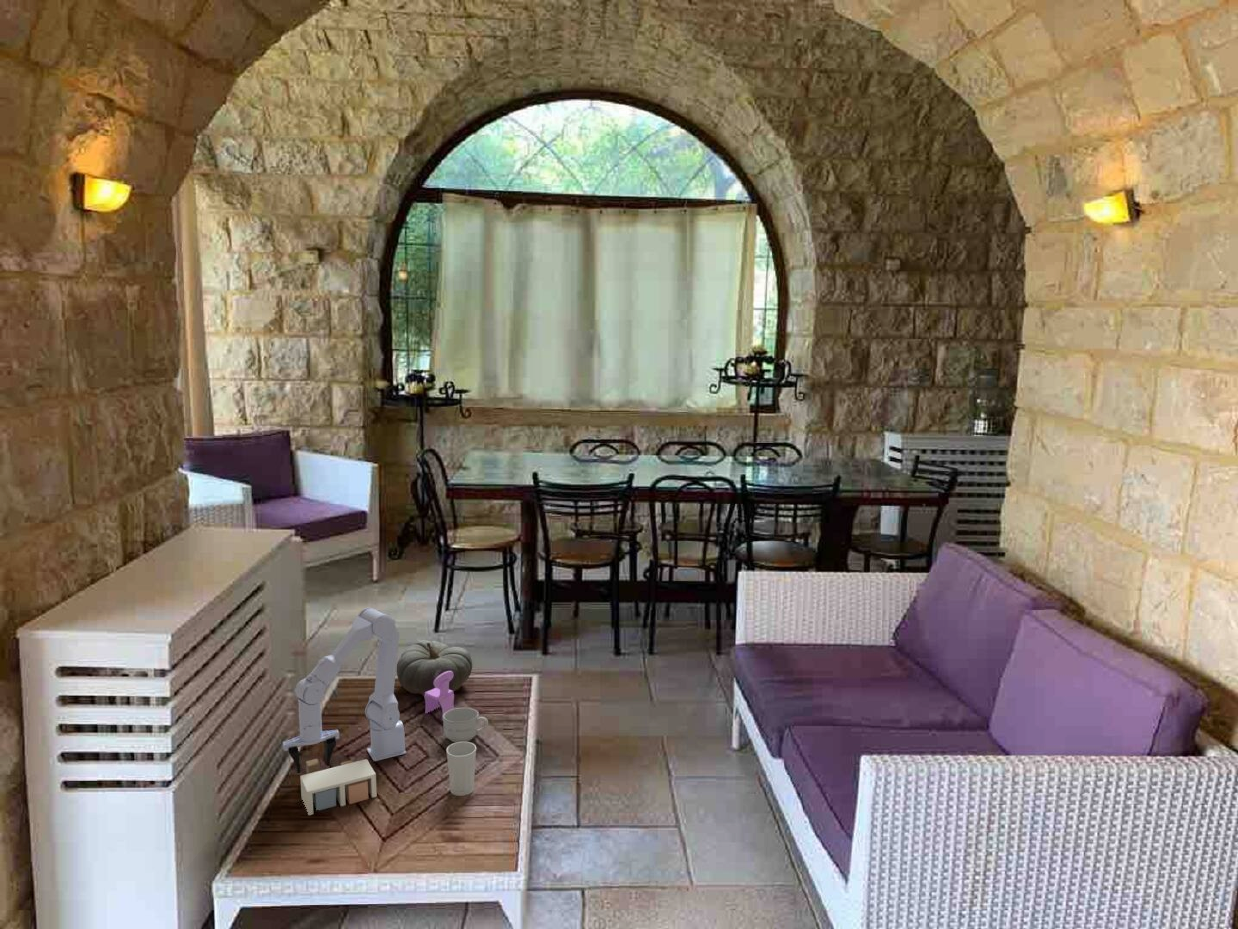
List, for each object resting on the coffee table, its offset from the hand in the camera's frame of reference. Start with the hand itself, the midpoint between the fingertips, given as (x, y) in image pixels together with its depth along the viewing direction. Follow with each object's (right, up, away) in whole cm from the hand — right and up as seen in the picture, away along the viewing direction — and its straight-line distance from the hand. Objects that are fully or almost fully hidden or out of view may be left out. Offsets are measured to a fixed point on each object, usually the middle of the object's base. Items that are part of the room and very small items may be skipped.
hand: (312, 767), depth 238 cm
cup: (+42, -5, -3) cm, 42 cm away
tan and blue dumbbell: (+4, -5, -5) cm, 8 cm away
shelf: (+10, -5, -7) cm, 13 cm away
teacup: (+38, 0, +25) cm, 45 cm away
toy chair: (+27, +3, +41) cm, 49 cm away
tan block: (+12, -5, -4) cm, 14 cm away
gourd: (+21, +6, +60) cm, 64 cm away
